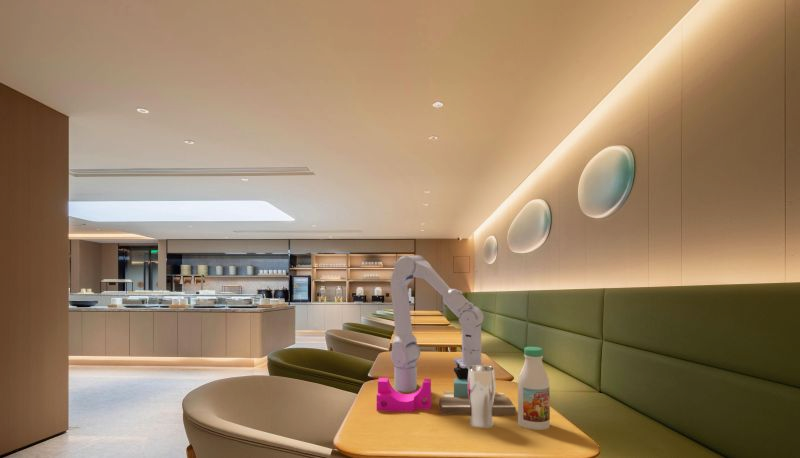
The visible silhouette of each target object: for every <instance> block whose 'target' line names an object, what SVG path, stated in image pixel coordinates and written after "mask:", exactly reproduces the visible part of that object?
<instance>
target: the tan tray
mask: <svg viewBox="0 0 800 458" xmlns="http://www.w3.org/2000/svg"><path fill="white" fill-rule="evenodd" d="M443 397H454V391H443ZM468 397H469V396H468ZM495 397H506V395H505V393H504V392H495Z"/></svg>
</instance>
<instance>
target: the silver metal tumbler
mask: <svg viewBox="0 0 800 458" xmlns="http://www.w3.org/2000/svg"><path fill="white" fill-rule="evenodd" d="M495 393H496V373H495V367H493V366H492V365H487V364H484V365H471V366H469V367H468V396H469V401H470V407H471V415H470V421H469V425H470V426H472V427H474V428H478V429H489V428H492V427H494V421H493V415H492V409H493V403H494V397H495Z"/></svg>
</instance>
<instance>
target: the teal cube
mask: <svg viewBox="0 0 800 458" xmlns="http://www.w3.org/2000/svg"><path fill="white" fill-rule="evenodd" d="M453 392H454V397H468V381H467V379H458V378H453Z"/></svg>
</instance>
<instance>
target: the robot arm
mask: <svg viewBox="0 0 800 458" xmlns="http://www.w3.org/2000/svg"><path fill="white" fill-rule="evenodd" d="M393 266H394V268H393V272H392V275H391V277H390V281H389V282H390V291H391V302H392V303H391V304H392V312H393V321H394V333H395V334H394V335H395V337H394V338H393V341H392V343H391V352H390V360H391V362H392V364H393V367H394V371H393V372H394V374H393V376H394V377H393V378H394V379H393V381H394V383H393V385H394V387H393V389H394V390H396V391H397V392H401V393H403V392H404V393H409V392H416V391H417V388H418V365H417V364H418V363H417V361H418V359H419V357H420V356H421V348H420V347H419V345H418V341H417V337H416V336H415V335H414V334H413V326H412V316H411V309H410V298H409V297H410V296H409V288H408V287H409V286H408V285H409V284H410V283H411V282H412V281H413V279H414V278H418V279H423V280H425V281H426V282H427V283H428V284H429V285H430V286H432V288H434V290H435V291H436V292H438V293H439V294H440V295H441V296H442V302H443V304H445V306H446V307H447V308H448V309H449V310H450V311H451V312H452V313H453V314H454V315H455V316H456V317H457V318H458V322H459V325H460V326H461V357H456V358H455V357H454V358H453V365H454V366H456V367H454V368H453V372H454V373H455V375H456V379H467V381H468V367H469V366H471V365H485V364H484V363H482V323H483V322H484V318H485V317H484V313H483V311H482V309H481V308H480V307H479V306H475V305H474V303H473V302H470V301H469V300H468V299H467V298H466V297H465V296H464V295H463V294H464V293H463V291H462V290H461V289H460V290H458V289H457V288H451V287H450V286H449V285H448V284H447V282H446V281H445V280H444V279H443V278H442V277H441V276H440V275H439V273H437V272H436V270H435V269H434V268H433V267H432V265H431V264H430V263H429V261H427V260H426V259H425V258H424V257H423V256H422V255H419V254H415V255H402V256H400V257H399V258H398V259H397V260H396V261H395V262H394V263H393Z"/></svg>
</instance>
